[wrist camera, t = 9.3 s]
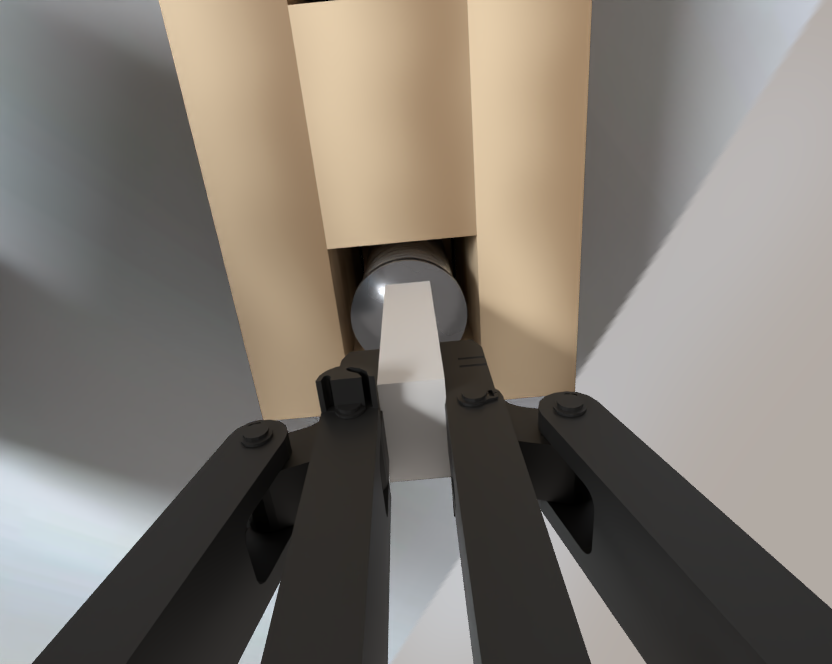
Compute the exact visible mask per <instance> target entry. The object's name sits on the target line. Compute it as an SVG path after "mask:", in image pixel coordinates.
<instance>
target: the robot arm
mask: <svg viewBox="0 0 832 664" xmlns="http://www.w3.org/2000/svg"><path fill="white" fill-rule="evenodd" d="M315 383H316V388H317V393H318V398H319V404H320V409H321V416H320V420H319V422H318V423H316V424H314V425H312V426H309V427H307V428H304V429H301V430H297V431H294V432H290V433H288V431H287V428H286V425H284V424H283V423H281V422H280V421H275V420H258V421H255V422H250V423H248V424H246V425H244V426H242V427H240V428H238V429H237V430H235V431H234V432H233V433H232V434H231V435H230V436H229V437H228V438H227V439H226V440H225V441H224V443H223V444H222V445H221V446H220V447H219V448H218V449H217V451H216V452H215V453H214V454H213V455H212V456H211V458H210V459H209V460H208V461H207V462H206V463H205V464H204V466H203V467H202V468H201V469H200V470H199V471H198V473H197V474H196V475H195V476H194V477H193V478H192V479H191V481H190V482H189V483H188V484H187V485H186V486H185V488H184V489H183V490H182V491H181V492H180V493H179V494H178V496H177V497H176V498H175V499H174V500H173V501H172V503H171V504H170V505H169V506H168V507H167V508H166V509H165V511H164V512H163V513H162V514H161V515H160V516H159V517H158V519H157V520H156V521H155V522H154V523H153V524H152V526H151V527H150V528H149V529H148V530H147V531H146V532H145V534H144V535H143V536H142V537H141V538H140V539H139V541H138V542H137V543H136V544H135V545H134V546H133V547H132V549H131V550H130V551H129V552H128V553H127V554H126V556H125V557H124V558H123V559H122V560H121V561H120V562H119V564H118V565H117V566H116V567H115V568H114V569H113V571H112V572H111V573H110V574H109V575H108V576H107V577H106V579H105V580H104V581H103V582H102V583H101V584H100V586H99V587H98V588H97V589H96V590H95V591H94V592H93V594H92V595H91V596H90V597H89V598H88V599H87V601H86V602H85V603H84V604H83V605H82V606H81V607H80V609H79V610H78V611H77V612H76V613H75V614H74V616H73V617H72V618H71V619H70V620H69V621H68V622H67V624H66V625H65V626H64V627H63V628H62V629H61V631H60V632H59V633H58V634H57V635H56V636H55V637H54V639H53V640H52V641H51V642H50V643H49V644H48V646H47V647H46V648H45V649H44V650H43V651H42V652H41V654H40V655H39V656H38V657H37V658H36V659H35V661H34V662H33V663H32V664H238V662H239V660H240V658H241V656H242V654H243V652H244V650H245V648H246V647H247V645H248V643H249V641H250V639H251V637H252V635H253V633H254V631H255V629H256V627H257V625H258V623H259V621H260V619H261V618H262V616H263V614H264V612H265V610H266V608H267V606H268V604H269V602H270V600H271V598H272V596H273V594H274V592H275V590H276V588H277V587H278V585H279V583H280V586H279V590H278V594H277V598H276V602H275V607H274V611H273V615H272V619H271V623H270V627H269V631H268V636H267V640H266V644H265V648H264V652H263V656H262V661H261V664H388V622H389V573H390V523H391V493H390V486H389V476H390V482H399V481H410V480H422V479H433V478H444V477H451V481H452V494H453V508H454V516H455V517H456V525H457V534H458V542H459V550H460V558H461V566H462V573H463V582H464V590H465V598H466V606H467V614H468V622H469V629H470V638H471V646H472V654H473V662H474V664H591V662H590V659H589V656H588V653H587V650H586V647H585V644H584V641H583V638H582V635H581V632H580V628H579V625H578V622H577V619H576V616H575V613H574V610H573V607H572V604H571V601H570V598H569V595H568V592H567V589H566V586H565V583H564V580H563V577H562V574H561V571H560V568H559V564H558V561H557V559H556V555H555V552H554V549H553V546H552V543H551V540H550V537H549V534H548V531H547V528H546V525H545V522H544V519H543V516H542V513H541V511H542V512H543V514H544V515H545V516H546V518H547V519H548V521H549V522H550V524H551V525H552V527H553V528H554V530H555V531H556V533H557V534H558V535H559V537H560V538H561V540H562V541H563V543H564V544H565V546H566V547H567V548H568V550H569V551H570V553H571V554H572V556H573V557H574V559H575V560H576V562H577V563H578V564H579V566H580V567H581V569H582V570H583V572H584V573H585V575H586V576H587V578H588V579H589V580H590V582H591V583H592V585H593V586H594V588H595V589H596V591H597V592H598V594H599V595H600V596H601V598H602V599H603V601H604V602H605V604H606V605H607V607H608V608H609V610H610V611H611V612H612V614H613V615H614V617H615V618H616V620H617V621H618V623H619V624H620V626H621V627H622V628H623V630H624V631H625V633H626V634H627V636H628V637H629V639H630V640H631V641H632V643H633V644H634V646H635V647H636V649H637V650H638V652H639V653H640V654H641V656H642V657H643V659H644V660H645V662H646V663H647V664H832V609H831V608H830V607H829V606H828V605H827V604H826V603H824V602H823V601H822V600H821V599H820V598H819V597H817V595H815V594H814V593H813V592H812V591H811V590H810V589H808V588H807V587H806V586H805V585H804V584H803V583H802V582H801V581H800V580H798V579H797V578H796V577H795V576H794V575H793V574H792V573H791V572H789V571H788V570H787V569H786V568H785V567H784V566H783V565H782V564H780V563H779V562H778V561H777V560H776V559H775V558H774V557H773V556H771V555H770V554H769V553H768V552H767V551H765V549H764V548H762V547H761V546H760V545H759V544H758V543H757V542H756V541H754V540H753V539H752V538H751V537H750V536H749V535H748V534H746V532H744V531H743V530H742V529H741V528H740V527H739V526H738V525H736V524H735V523H734V522H733V521H732V520H731V519H730V518H729V517H727V516H726V515H725V514H724V513H723V512H722V511H721V510H720V509H718V508H717V507H716V506H715V505H714V504H713V503H712V502H710V501H709V500H708V499H707V498H706V497H705V496H704V495H703V494H701V493H700V492H699V491H698V490H697V489H696V488H695V487H694V486H692V485H691V484H690V483H689V482H688V481H687V480H686V479H685V478H683V477H682V476H681V475H680V474H679V473H678V472H677V471H676V470H674V469H673V468H672V467H671V466H670V465H669V464H667V462H665V461H664V460H663V459H662V458H661V457H660V456H659V455H658V454H656V453H655V452H654V451H653V450H652V449H651V448H649V447H648V446H647V445H646V444H645V443H644V442H643V441H642V440H641V439H639V438H638V437H637V436H636V435H635V434H634V433H633V432H632V431H630V430H629V429H628V428H627V427H626V426H625V425H624V424H622V423H621V422H620V421H619V420H618V419H617V418H616V417H614V416H613V415H612V414H611V413H610V412H609V411H608V410H607V409H606V408H605V407H603V406H602V405H601V404H600V403H599V402H597V401H596V400H595V399H593V398H591V397H590V396H588V395H584V394H581V393H578V392H570V391H564V392H556V393H552V394H550V395H547V396H545V397H544V398H543V399H542V400H541V401H540V403H539V407H538V409H535V408H526V407H520V406H516V405H513V404H510V403H508V402H506V401H505V400H504V397H503V395H502V394H501V392H500V391H499V390H497V389H495V387H494V383H493V380H492V377H491V374H490V371H489V368H488V365H487V361H486V358H485V355H484V352H483V349H482V346H480V345H479V344H478V343H476V342H475V341H474V340H472V339H470V340H459V341H448V342H439V338H438V332H437V325H436V318H435V312H434V305H433V299H432V292H431V285H430V281H422V282H411V283H400V284H389V285H385V292H384V304H383V317H382V329H381V342H380V349H374V350H363V351H352V352H349V353H348V354H347V355H346V356H345V357H344V358H343V359H342V360H341V363H340V366H338V367H335V368H332V369H329V370H327V371H325V372H324V373H322V374H321V375H319V377H318V378H317V380H316V381H315ZM540 509H541V510H540ZM280 581H281V582H280Z"/></svg>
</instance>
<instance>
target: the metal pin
mask: <svg viewBox="0 0 832 664" xmlns="http://www.w3.org/2000/svg"><path fill="white" fill-rule="evenodd" d="M422 281H430V285H431V292H432V299H433V305H434V312H435V318H436V325H437V332H438V338H439V342H448V341H459V340H461V338H462V335H463V333H464V331H465V327H466V323H467V306H466V302H465V298H464V295H463V292H462V290H461V287H460V286H459V284H458V283H457V281H456V280H455V278H454V277H453V276H452V273H451V270H450V266H449V263H448V259H447V256H446V252H445V249H444V245H443V241H442V239H431V240H420V241H410V242H399V243H388V244H378V245H369V250H368V255H367V260H366V266H365V271H364V276H363V280H362V281H361V283H360V284H359V286H358V288H357V290H356V292H355V295H354V298H353V302H352V307H351V323H352V328H353V331H354V334H355V336H356V338H357V340H358V342H359V343H360V345H361V346H362V347H363V348H364V350H374V349H380V342H381V329H382V317H383V304H384V292H385V285H389V284H400V283H411V282H422Z"/></svg>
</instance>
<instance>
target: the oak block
mask: <svg viewBox="0 0 832 664" xmlns="http://www.w3.org/2000/svg"><path fill="white" fill-rule="evenodd" d="M159 4H160V8H161V12H162V16H163V20H164V24H165V28H166V32H167V36H168V40H169V44H170V48H171V52H172V56H173V60H174V64H175V68H176V72H177V76H178V80H179V84H180V88H181V92H182V96H183V100H184V104H185V108H186V112H187V116H188V120H189V124H190V128H191V132H192V136H193V140H194V144H195V148H196V152H197V156H198V160H199V164H200V168H201V172H202V176H203V180H204V184H205V188H206V192H207V196H208V200H209V204H210V208H211V212H212V216H213V220H214V224H215V228H216V232H217V236H218V240H219V244H220V248H221V252H222V257H223V261H224V265H225V269H226V273H227V277H228V281H229V285H230V289H231V293H232V297H233V301H234V305H235V309H236V313H237V317H238V321H239V325H240V329H241V333H242V337H243V341H244V345H245V349H246V353H247V357H248V361H249V365H250V369H251V373H252V377H253V381H254V385H255V389H256V393H257V397H258V401H259V405H260V409H261V413H262V417H263V420H284V419H295V418H306V417H317V416H321V409H320V404H319V398H318V393H317V388H316V383H315V381H316V380H317V378H318V377H319V375H321V374H322V373H324V372H325V371H327V370H329V369H332V368H335V367H338V366H340V363H341V360H342V359H343V358H344V357H345V356H346V355H347V354H348V353H349V352H352V351H363V350H364V348H363V347H362V346H361V345H360V343H359V342H358V340H357V338H356V336H355V334H354V331H353V328H352V323H351V307H352V302H353V298H354V295H355V292H356V290H357V288H358V286H359V284H360V283H361V281H362V280H363V273H362V265H361V258H360V251H359V246H362V253H363V261H364V268H365V266H366V260H367V255H368V250H369V245H378V244H388V243H399V242H410V241H420V240H431V239H442V241H443V245H444V249H445V252H446V256H447V259H448V263H449V266H450V270H451V273H452V276H453V267H452V251H451V238H452V237H454V251H455V268H456V279H455V280H456V281H457V283H458V284H459V286H460V287H461V290H462V292H463V295H464V298H465V302H466V306H467V323H466V327H465V331H464V333H463V335H462V338H461V340H470V339H472V340H474V341H475V342H476V343H478V344H479V345H480V346H482V349H483V352H484V355H485V358H486V361H487V365H488V368H489V371H490V374H491V377H492V380H493V383H494V387H495V389H497V390H499V391H500V392H501V394H502V395H503V397H504V400H505V399H517V398H528V397H539V396H547V395H550V394H552V393H556V392H564V391H570V392H575V378H576V355H577V332H578V309H579V286H580V263H581V240H582V217H583V195H584V172H585V149H586V126H587V103H588V80H589V57H590V34H591V11H592V0H329V1H325V0H159Z"/></svg>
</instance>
